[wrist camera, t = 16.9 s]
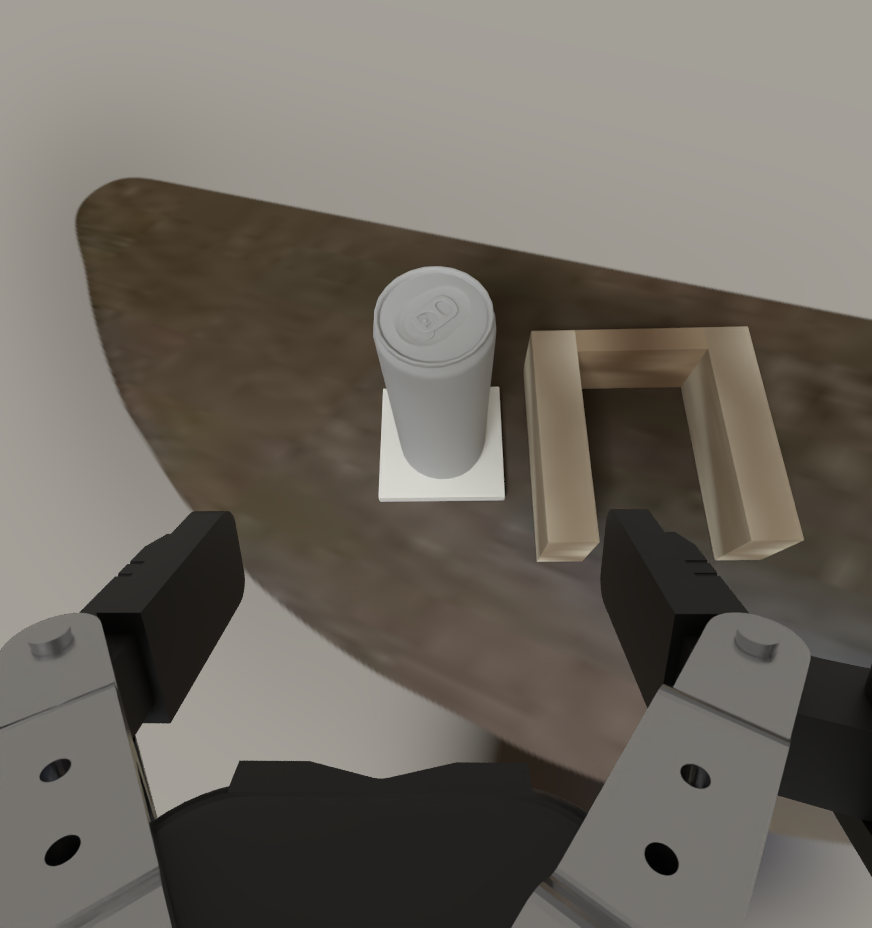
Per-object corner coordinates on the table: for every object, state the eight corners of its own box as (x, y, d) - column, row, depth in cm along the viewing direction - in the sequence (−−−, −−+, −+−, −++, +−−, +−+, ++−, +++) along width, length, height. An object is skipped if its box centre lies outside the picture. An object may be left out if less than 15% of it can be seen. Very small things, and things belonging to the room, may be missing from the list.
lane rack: (716, 366, 34) (747, 326, 30) (760, 559, 29) (803, 540, 26) (523, 370, 34) (531, 331, 31) (536, 561, 30) (548, 542, 26)
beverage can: (384, 440, 32) (344, 309, 21) (448, 392, 33) (441, 243, 22) (437, 499, 31) (424, 392, 20) (502, 447, 32) (524, 318, 21)
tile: (498, 391, 34) (499, 386, 33) (503, 500, 31) (504, 496, 31) (384, 393, 34) (383, 388, 34) (380, 501, 31) (378, 498, 31)
